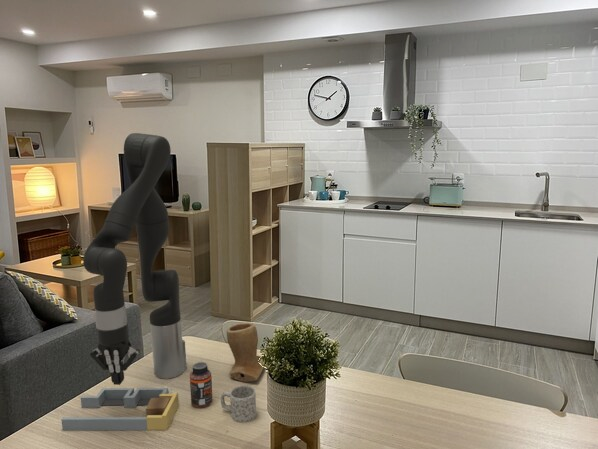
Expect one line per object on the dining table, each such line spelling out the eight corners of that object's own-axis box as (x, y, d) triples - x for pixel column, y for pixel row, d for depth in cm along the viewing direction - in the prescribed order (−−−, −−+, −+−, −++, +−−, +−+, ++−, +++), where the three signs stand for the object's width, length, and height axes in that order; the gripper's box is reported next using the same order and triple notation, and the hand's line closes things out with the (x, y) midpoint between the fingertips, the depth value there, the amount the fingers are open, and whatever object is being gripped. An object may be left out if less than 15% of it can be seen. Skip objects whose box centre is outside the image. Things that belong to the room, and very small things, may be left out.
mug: (260, 410, 126) (259, 387, 125) (249, 424, 120) (248, 401, 119) (227, 403, 129) (226, 382, 128) (215, 417, 123) (214, 394, 122)
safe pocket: (147, 429, 118) (146, 415, 118) (161, 405, 129) (160, 392, 128) (166, 429, 118) (165, 415, 117) (178, 405, 129) (178, 392, 128)
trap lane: (62, 430, 119) (61, 419, 118) (90, 397, 134) (89, 388, 133) (151, 429, 118) (150, 419, 118) (169, 397, 133) (168, 387, 132)
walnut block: (147, 424, 121) (145, 408, 120) (152, 413, 126) (151, 398, 125) (166, 423, 121) (165, 408, 120) (171, 412, 126) (169, 397, 125)
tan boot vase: (235, 359, 155) (233, 316, 153) (269, 361, 153) (268, 318, 150) (219, 382, 141) (216, 336, 138) (257, 385, 139) (255, 338, 136)
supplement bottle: (207, 409, 127) (205, 371, 125) (187, 407, 128) (184, 369, 126) (216, 397, 132) (213, 361, 130) (196, 395, 134) (194, 359, 131)
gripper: (79, 328, 116) (87, 390, 120) (130, 329, 115) (136, 392, 119) (94, 316, 123) (101, 374, 127) (142, 317, 122) (148, 376, 126)
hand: (118, 383), depth 123 cm, fingers closed
